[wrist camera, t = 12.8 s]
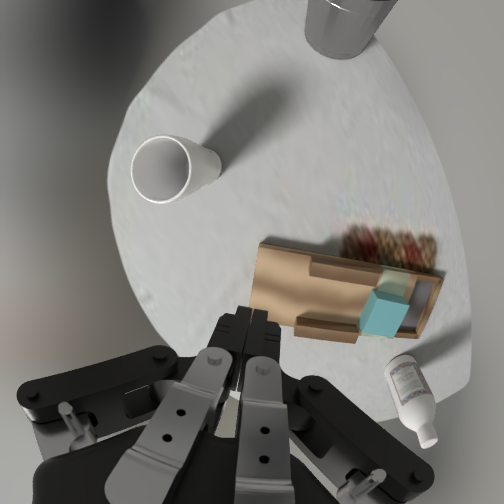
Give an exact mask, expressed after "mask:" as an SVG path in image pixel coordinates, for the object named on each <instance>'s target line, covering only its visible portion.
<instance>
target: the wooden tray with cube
mask: <svg viewBox="0 0 504 504" xmlns="http://www.w3.org/2000/svg"><path fill="white" fill-rule="evenodd" d="M443 280H444V279H443V278H442V277H441V276H438V275H433V274H427V273H422V272H417V271H412V270H406V269H401V268H396V267H390V266H385V265H380V264H374V263H369V262H363V261H358V260H353V259H347V258H342V257H336V256H331V255H325V254H319V253H314V252H308V251H302V250H297V249H291V248H285V247H280V246H274V245H268V244H262V243H260V244H259V247H258V253H257V260H256V266H255V272H254V279H253V285H252V291H251V297H250V304H249V307H250V308H253V311H254V308H255V309H261V310H267V311H268V318H267V321H272V322H277V323H278V324H279V325H285V326H291V327H294V336H297V337H304V338H312V339H319V340H327V341H335V342H344V343H353V344H355V343H356V341H357V338H358V336H370V337H381V338H390V337H384V336H379V335H373V334H367V333H362V332H361V329H360V327H359V324H358V320H359V318H360V316H361V313H362V311H363V309H364V307H365V304H366V302H367V300H368V297H369V295H370V293H371V290H372V289H373V290H377V291H381V292H385V293H389V294H393V295H397V296H402V297H403V298H404V299H405V300H406V301H407V303H408V304H409V305H410V306H409V308H408V311H407V313H406V315H405V317H404V319H403V321H402V323H401V325H400V327H399V328H398V330H397V332H396V334H395V336H394V337H398V338H411V339H419V337H420V335H421V333H422V331H423V329H424V327H425V325H426V322H427V320H428V318H429V316H430V313H431V311H432V309H433V306H434V304H435V301H436V299H437V296H438V294H439V291H440V289H441V286H442V283H443ZM253 311H252V315H253ZM251 319H252V317H251Z"/></svg>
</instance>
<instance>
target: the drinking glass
mask: <svg viewBox="0 0 504 504" xmlns="http://www.w3.org/2000/svg"><path fill="white" fill-rule="evenodd" d="M221 169H222V163H221V160H220V157H219V156H218V155H217V153H215V152H214V151H213V150H210V149H207V148H205V147H203V146H201V145H199V144H197V143H195V142H193V141H191V140H189V139H186V138H183V137H178V136H172V135H157V136H154V137H151V138H149V139H147V140H146V141H145V142H143V143H142V144H141V145H140V146H139V148H138V149H137V151H136V152H135V154H134V157H133V159H132V164H131V177H132V181H133V184H134V186H135V188H136V190H137V191H138V193H139V194H140V195H141V196H142V197H143V198H145V199H146V200H148V201H150V202H153V203H168V202H172V201H176V200H179V199H182V198H185V197H187V196H189V195H191V194H193V193H194V192H196V191H197V190H199V189H201V188H202V187H204V186H206V185H208V184H210V183H212V182H214V181H215V180H216V179H217V178H218V177H219V175H220V173H221Z"/></svg>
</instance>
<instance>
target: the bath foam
mask: <svg viewBox="0 0 504 504" xmlns="http://www.w3.org/2000/svg"><path fill="white" fill-rule="evenodd" d="M384 374H385V378H386V381H387V384H388V386H389V389H390V392H391V395H392V398H393V401H394V404H395V407H396V410H397V413H398V416H399V418H400V420H401V422H402V423H403V424H404V425H405V426H406V427H408V428H409V429H411V430H413V431H415V432H417V435H418V438H419V441H420V444H421V447H422V448H428V447H430V446H432V445H434V444H435V443H436V442H437V441H438V437H437V434H436V432H435V429H434V427H433V424H432V423H433V420H434V416H435V411H436V403H435V399H434V396H433V394H432V392H431V390H430V388H429V386H428V384H427V382H426V380H425V378H424V376H423V374H422V372H421V370H420V368H419V366H418V364H417V363H416V361H415V359H414V358H413V357H412V356H410V355H401V356H398V357H396V358H394V359H393V360H392V361H390V362H389V364H388V365H387V366H386V368H385V372H384Z"/></svg>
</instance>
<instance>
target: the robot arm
mask: <svg viewBox="0 0 504 504" xmlns="http://www.w3.org/2000/svg"><path fill="white" fill-rule="evenodd" d="M397 1H398V0H308V7H307V16H306V24H305V36H306V39H307V41H308V42H309V44H310V45H311V46H312V47H313V48H314V49H315V50H316V51H317V52H319V53H320V54H322V55H324V56H326V57H330V58H333V59H339V60H343V59H350V58H353V57H356V56H357V55H359V54H360V53H361V52H362V50H363V49H364V47H365V46H366V44H367V43H368V42H369V40H370V39H371V38H372V36H373V35H374V33H375V32H376V30H377V29H378V28H379V26H380V25H381V23H382V22H383V20H384V19H385V18H386V16H387V15H388V13H389V12H390V11H391V9H392V8H393V6H394V5H395V3H396V2H397ZM252 311H253V308H250V307H244V306H238V308H237V311H236V314H235V315H234V314H228V313H225V314H224V315H223V316H221V317H220V318H219V320H218V322H217V325H216V327H215V330H214V332H213V334H212V336H211V338H210V341H209V343H208V345H207V348H205V349H203V350H201V351H200V352H199V353H198V355H197V356H194V357H177V354H176V352H175V351H174V350H173V349H172V348H170V347H167V346H162V345H157V346H152V347H149V348H146V349H143V350H140V351H136V352H134V353H130V354H127V355H124V356H120V357H117V358H114V359H110V360H107V361H104V362H100V363H97V364H93V365H90V366H86V367H83V368H79V369H75V370H72V371H68V372H64V373H60V374H57V375H52V376H48V377H44V378H40V379H36V380H31V381H27V382H25V383H24V384H22V385H21V386H20V387H19V389H18V391H17V400H18V402H19V404H20V405H21V407H22V409H23V410H24V412H25V413H26V416H27V418H28V419H29V420H30V422H31V423H32V425H33V429H34V433H35V435H36V439H37V443H38V445H39V448H40V452H41V454H42V457H43V460H44V462H42V463H41V464H40V465H39V466H38V468H37V469H36V471H35V474H34V477H33V502H32V504H407V503H408V502H410V501H411V500H413V499H414V498H416V497H417V496H419V495H420V494H422V493H423V492H425V491H426V490H427V489H429V488H430V487H431V486H432V484H433V482H434V471H433V469H432V467H431V466H430V465H429V464H427V463H426V462H425V461H424V460H422V459H421V458H420V457H418V456H417V455H416V454H414V453H413V452H412V451H411V450H409V449H408V448H407V447H406V446H404V445H403V444H402V443H401V442H399V441H398V440H397V439H396V438H394V437H393V436H392V435H391V434H389V433H388V432H387V431H386V430H385V429H383V428H382V427H381V426H379V425H378V424H377V423H376V422H375V421H374V420H372V419H371V418H370V417H369V416H368V415H367V414H365V413H364V412H363V411H362V410H361V409H359V408H358V407H357V406H356V405H355V404H354V403H352V402H351V401H350V400H349V399H348V398H347V397H346V396H344V395H343V394H342V393H341V392H340V391H339V390H338V389H336V388H335V387H334V386H333V385H332V384H331V383H330V382H329V381H327V380H326V379H324V378H322V377H319V376H314V375H310V376H305V377H303V378H302V379H301V380H298V379H295V378H292V377H290V376H288V375H287V374H285V373H284V372H283V371H282V369H281V367H280V365H279V358H280V341H281V328H280V326H279V324H278V323H277V322H272V321H267V318H268V311H267V310H261V309H255V308H254V311H253V315H252ZM251 317H252V319H251ZM250 323H251V324H250ZM240 370H241V371H240ZM239 374H240V377H239ZM238 378H239V382H238ZM237 383H238V388H237V391H238V392H241V394H240V400H239V405H238V413H237V421H236V430H235V438H221V437H217V436H215V435H214V434H215V431H216V429H217V426H218V424H219V421H220V419H221V416H222V413H223V411H224V408H225V405H226V402H227V399H228V397H229V394H230V390H232V391H236V387H237ZM146 385H147V386H146ZM143 386H146V387H143ZM141 387H143V388H141ZM138 388H141V389H138ZM135 389H138V390H135ZM132 390H135V391H132ZM130 391H132V392H130ZM127 392H130V393H127ZM125 393H127V394H125ZM149 419H150V421H149V423H148V424H147V425H142V426H139V427H135V428H133V429H130V430H128V431H126V432H123V433H121V434H119V435H116V436H114V437H111V438H108V439H106V440H103V441H100V442H98V443H97V439H98V438H101V437H104V436H107V435H109V434H112V433H115V432H118V431H121V430H123V429H126V428H129V427H131V426H134V425H137V424H139V423H141V422H144V421H146V420H149ZM289 438H290V439H291V440H292V441H293V442H294V443H295V444H296V445H297V447H298V448H299V449H300V450H301V451H302V452H303V453H304V454H305V455H306V456H307V457H308V458H309V459H310V461H311V462H312V463H313V464H314V465H315V466H316V467H317V468H318V469H319V470H320V471H321V472H322V473H323V474H324V475H325V476H326V477H327V478H328V479H329V480H330V481H331V482H332V483H333V484H334V485H335V486H336V487H337V488H338V491H337V496H336V497H337V500H336V499H335V498H334V496H333V495H331V493H330V492H329V491H328V490H327V489H326V488H325V487H324V486H323V485H322V484H321V482H320V481H319V480H317V478H316V477H315V476H314V475H313V474H312V472H311V471H310V470H309V469H308V468H307V467H306V466H305V465H304V463H302V462H301V461H300V460H299V459H298V458H296V457H295V456H293V455H292V454H290V447H289Z"/></svg>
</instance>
